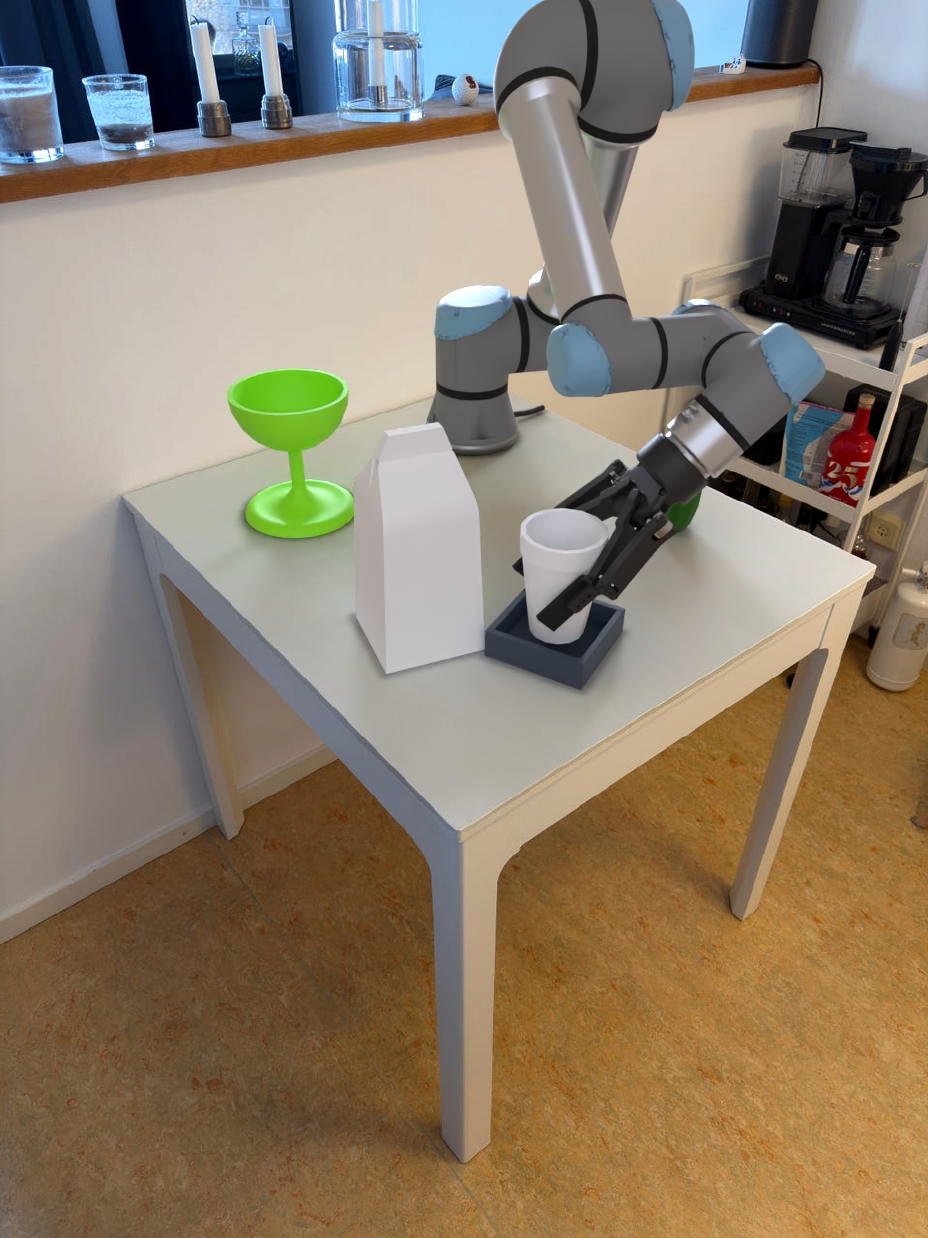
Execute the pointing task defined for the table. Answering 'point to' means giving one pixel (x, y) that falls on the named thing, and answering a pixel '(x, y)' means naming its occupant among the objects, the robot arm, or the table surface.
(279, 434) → the wineglass
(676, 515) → the bell pepper
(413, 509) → the milk
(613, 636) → the tray
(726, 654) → the table surface
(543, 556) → the foam cup
